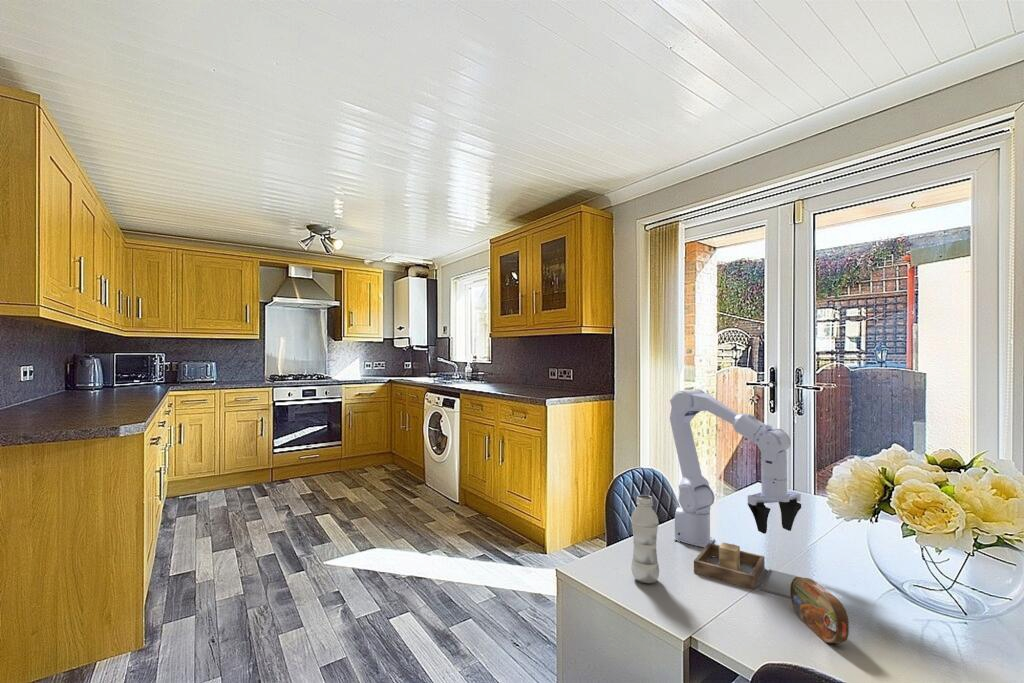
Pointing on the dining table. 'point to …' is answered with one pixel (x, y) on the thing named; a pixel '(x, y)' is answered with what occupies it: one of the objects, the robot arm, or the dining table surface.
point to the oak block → (729, 556)
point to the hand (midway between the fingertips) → (774, 530)
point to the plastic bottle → (644, 541)
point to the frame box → (727, 573)
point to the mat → (778, 583)
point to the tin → (819, 610)
